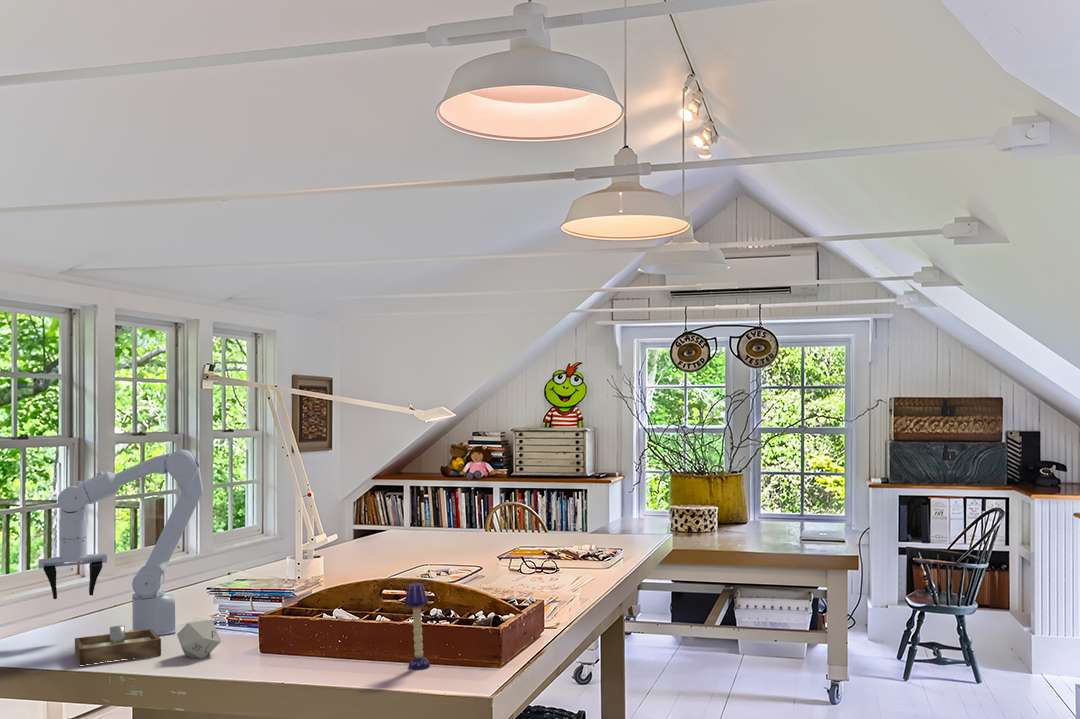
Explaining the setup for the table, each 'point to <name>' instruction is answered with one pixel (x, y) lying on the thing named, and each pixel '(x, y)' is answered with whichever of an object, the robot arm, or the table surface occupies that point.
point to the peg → (117, 635)
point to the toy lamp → (417, 623)
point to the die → (198, 638)
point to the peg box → (117, 647)
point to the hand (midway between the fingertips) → (73, 596)
